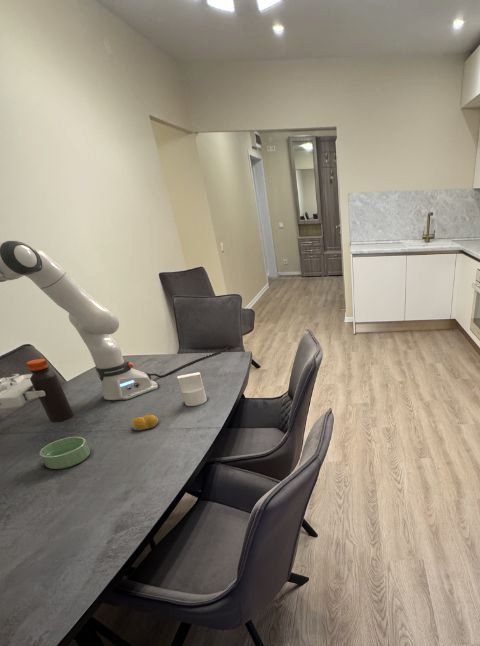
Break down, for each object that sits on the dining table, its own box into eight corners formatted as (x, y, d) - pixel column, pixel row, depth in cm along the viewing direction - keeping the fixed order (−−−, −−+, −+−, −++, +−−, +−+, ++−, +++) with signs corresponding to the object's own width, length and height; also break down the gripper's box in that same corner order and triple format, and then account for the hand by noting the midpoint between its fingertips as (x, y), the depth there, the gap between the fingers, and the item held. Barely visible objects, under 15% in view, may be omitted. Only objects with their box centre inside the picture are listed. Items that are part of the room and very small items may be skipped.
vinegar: (55, 415, 133) (28, 359, 123) (77, 412, 134) (52, 356, 124) (46, 424, 127) (17, 366, 117) (69, 421, 129) (43, 363, 119)
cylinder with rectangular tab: (205, 395, 173) (199, 369, 167) (208, 402, 166) (201, 376, 160) (184, 399, 170) (176, 373, 164) (185, 407, 162) (177, 380, 156)
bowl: (86, 444, 139) (80, 432, 136) (95, 458, 131) (89, 445, 128) (43, 459, 131) (36, 447, 129) (50, 475, 123) (43, 461, 121)
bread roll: (160, 426, 149) (157, 416, 147) (135, 433, 145) (131, 423, 143) (157, 418, 155) (154, 409, 153) (132, 424, 151) (129, 415, 149)
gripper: (-23, 396, 113) (30, 391, 115) (16, 372, 130) (61, 367, 133) (-12, 415, 116) (39, 410, 118) (24, 389, 133) (68, 385, 136)
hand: (51, 387), depth 125 cm, fingers closed on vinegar, 7 cm apart
